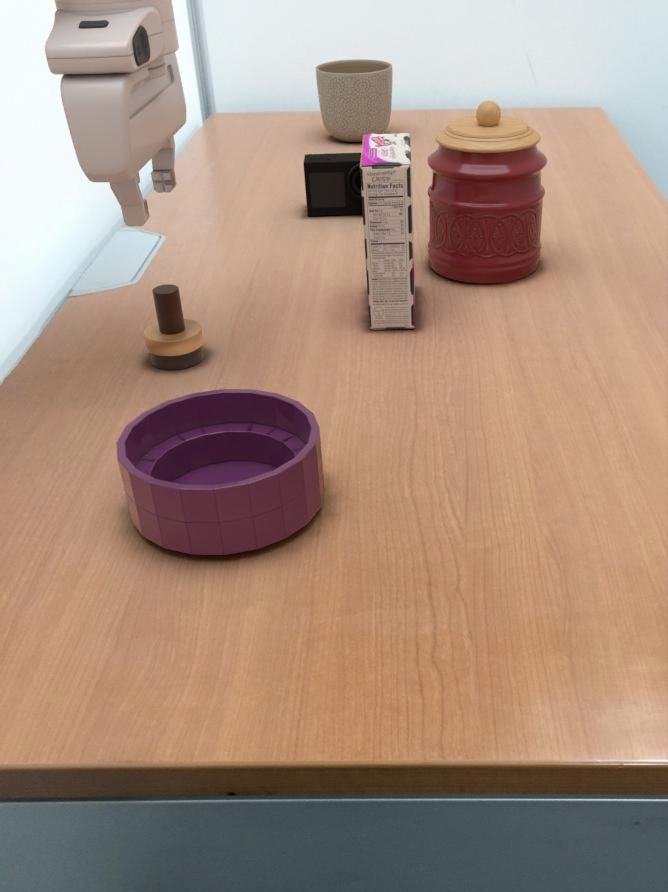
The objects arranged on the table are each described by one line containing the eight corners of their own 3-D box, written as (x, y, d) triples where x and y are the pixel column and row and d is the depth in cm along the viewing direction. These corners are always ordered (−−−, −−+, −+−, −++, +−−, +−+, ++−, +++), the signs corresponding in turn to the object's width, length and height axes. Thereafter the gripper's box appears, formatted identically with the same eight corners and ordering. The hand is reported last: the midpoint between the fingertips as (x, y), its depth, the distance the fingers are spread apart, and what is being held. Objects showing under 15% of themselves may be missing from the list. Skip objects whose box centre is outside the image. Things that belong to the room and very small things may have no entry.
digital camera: (306, 219, 126) (301, 164, 121) (308, 207, 130) (304, 153, 126) (385, 217, 126) (383, 162, 122) (384, 204, 130) (382, 151, 126)
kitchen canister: (559, 258, 112) (572, 95, 102) (506, 294, 104) (514, 120, 93) (464, 239, 118) (466, 84, 108) (406, 272, 109) (403, 106, 99)
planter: (316, 131, 164) (311, 61, 158) (387, 126, 166) (385, 57, 160) (324, 149, 154) (319, 75, 148) (400, 144, 156) (398, 71, 150)
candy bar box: (368, 289, 105) (361, 132, 96) (414, 288, 105) (411, 131, 96) (366, 331, 96) (358, 162, 87) (415, 330, 96) (413, 161, 87)
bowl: (108, 560, 66) (89, 488, 63) (160, 454, 78) (146, 388, 74) (311, 563, 65) (304, 490, 62) (333, 456, 77) (328, 389, 73)
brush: (142, 371, 90) (128, 300, 86) (157, 346, 95) (144, 278, 90) (198, 371, 90) (187, 300, 86) (211, 346, 94) (200, 278, 90)
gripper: (118, 11, 84) (148, 173, 92) (35, 53, 68) (80, 246, 76) (188, 9, 84) (212, 172, 92) (122, 50, 67) (158, 244, 75)
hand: (152, 206), depth 84 cm, fingers open, 8 cm apart
